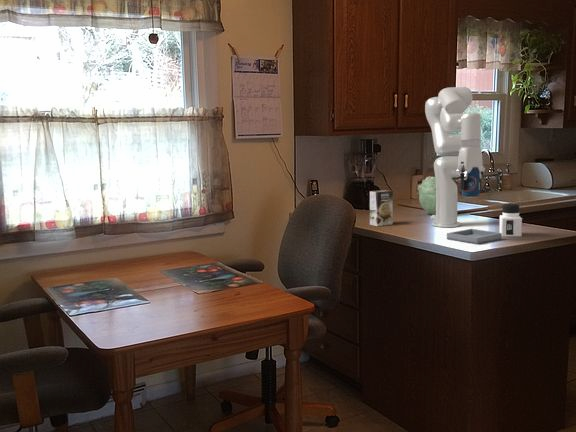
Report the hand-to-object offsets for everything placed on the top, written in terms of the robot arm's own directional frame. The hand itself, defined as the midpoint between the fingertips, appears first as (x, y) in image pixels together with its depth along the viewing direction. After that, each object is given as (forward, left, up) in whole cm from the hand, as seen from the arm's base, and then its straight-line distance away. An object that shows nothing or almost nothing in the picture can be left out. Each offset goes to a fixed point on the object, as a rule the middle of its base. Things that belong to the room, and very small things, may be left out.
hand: (470, 188), depth 246 cm
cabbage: (-53, +39, -20) cm, 69 cm away
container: (+6, +18, -21) cm, 28 cm away
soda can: (0, 0, -3) cm, 3 cm away
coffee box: (-51, -1, -21) cm, 55 cm away
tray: (+2, 0, -20) cm, 20 cm away
